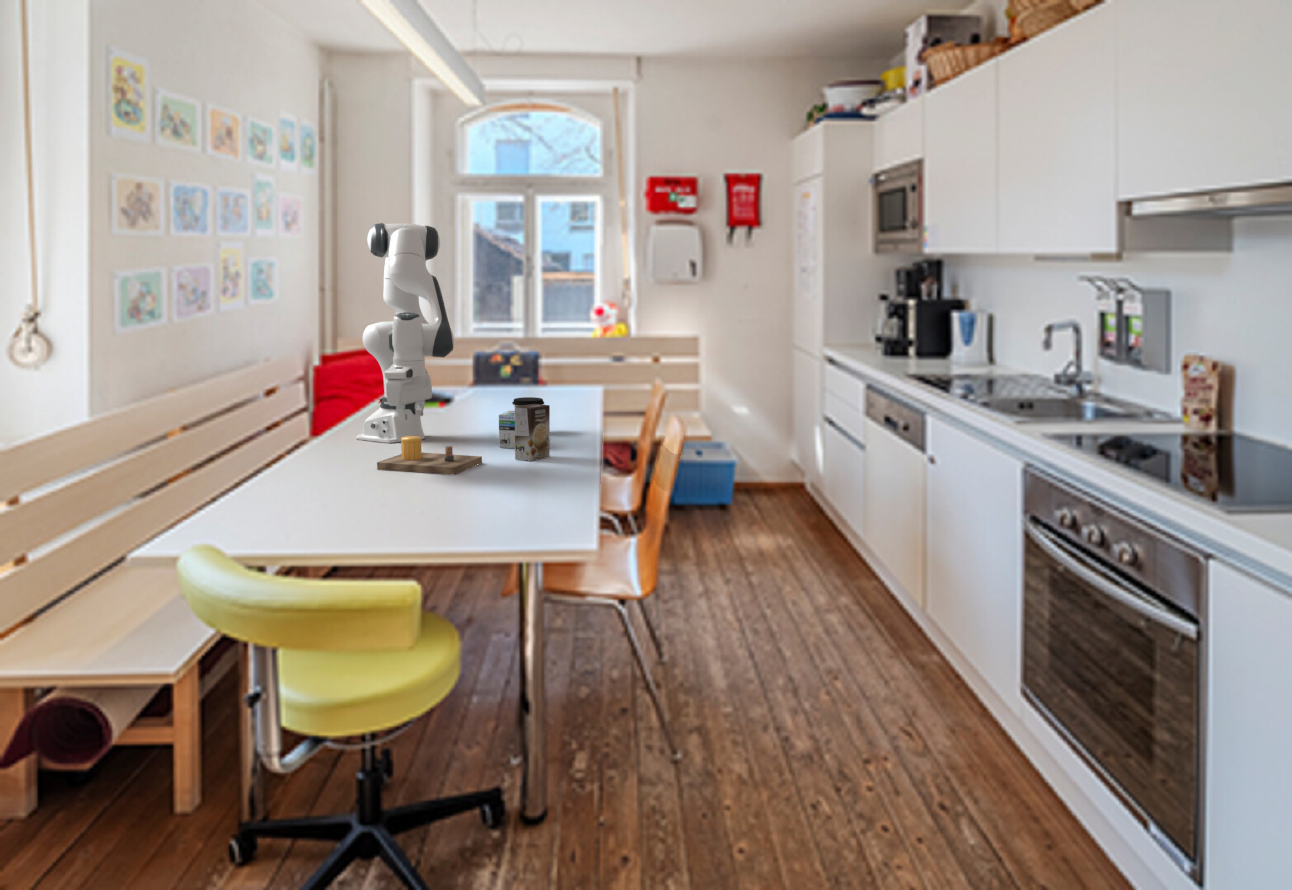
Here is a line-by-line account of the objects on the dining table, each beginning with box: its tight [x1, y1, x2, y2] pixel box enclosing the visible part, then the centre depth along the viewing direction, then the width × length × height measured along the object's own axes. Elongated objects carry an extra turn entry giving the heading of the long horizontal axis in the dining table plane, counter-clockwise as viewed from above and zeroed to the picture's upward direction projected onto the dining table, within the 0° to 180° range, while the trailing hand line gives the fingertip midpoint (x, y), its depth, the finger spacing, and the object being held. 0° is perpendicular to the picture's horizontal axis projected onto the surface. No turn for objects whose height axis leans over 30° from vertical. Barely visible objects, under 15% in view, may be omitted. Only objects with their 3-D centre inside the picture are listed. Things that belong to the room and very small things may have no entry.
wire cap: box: [401, 436, 423, 460], centre depth 297 cm, size 6×6×6 cm
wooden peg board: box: [376, 445, 483, 475], centre depth 295 cm, size 24×18×6 cm
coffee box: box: [514, 404, 551, 462], centre depth 308 cm, size 9×6×16 cm
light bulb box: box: [498, 410, 515, 449], centre depth 329 cm, size 11×7×11 cm, turn 168°
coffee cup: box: [512, 396, 545, 407], centre depth 353 cm, size 11×11×12 cm
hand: (411, 418), depth 295 cm, fingers open, 8 cm apart
